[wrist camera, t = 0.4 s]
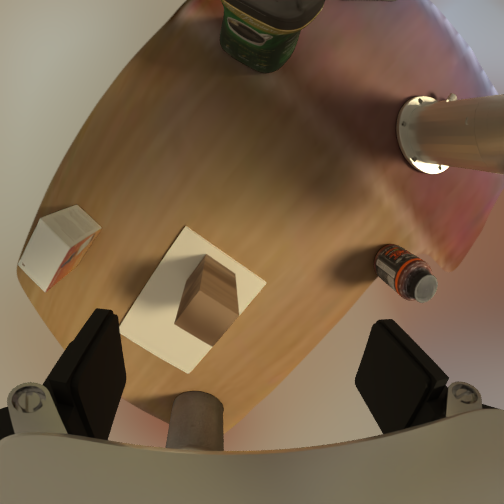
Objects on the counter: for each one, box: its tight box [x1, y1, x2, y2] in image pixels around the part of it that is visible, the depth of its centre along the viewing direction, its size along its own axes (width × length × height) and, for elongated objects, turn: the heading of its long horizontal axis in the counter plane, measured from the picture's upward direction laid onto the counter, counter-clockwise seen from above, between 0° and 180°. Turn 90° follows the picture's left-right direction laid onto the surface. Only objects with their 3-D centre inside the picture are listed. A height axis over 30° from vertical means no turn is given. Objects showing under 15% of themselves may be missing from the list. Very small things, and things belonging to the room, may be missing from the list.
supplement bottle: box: [374, 244, 437, 303], centre depth 39 cm, size 6×6×11 cm
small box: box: [18, 205, 102, 292], centre depth 34 cm, size 8×6×10 cm
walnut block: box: [174, 254, 239, 347], centre depth 37 cm, size 5×5×12 cm
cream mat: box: [119, 226, 267, 374], centre depth 44 cm, size 21×14×1 cm, turn 142°
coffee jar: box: [220, 0, 325, 73], centre depth 25 cm, size 10×8×19 cm
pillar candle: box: [166, 391, 224, 451], centre depth 44 cm, size 10×10×15 cm
